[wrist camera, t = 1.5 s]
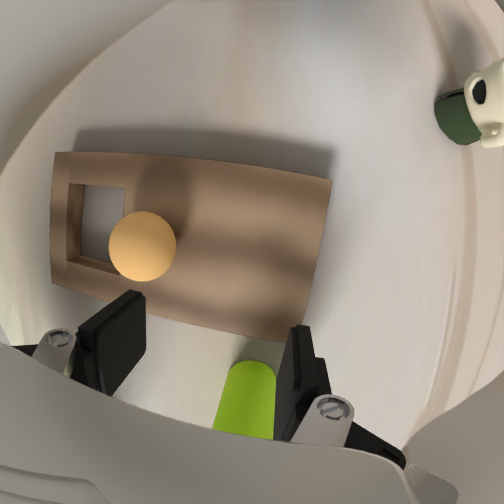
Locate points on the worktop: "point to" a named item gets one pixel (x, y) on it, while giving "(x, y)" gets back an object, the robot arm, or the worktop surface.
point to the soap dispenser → (248, 401)
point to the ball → (142, 246)
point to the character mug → (475, 109)
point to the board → (200, 238)
